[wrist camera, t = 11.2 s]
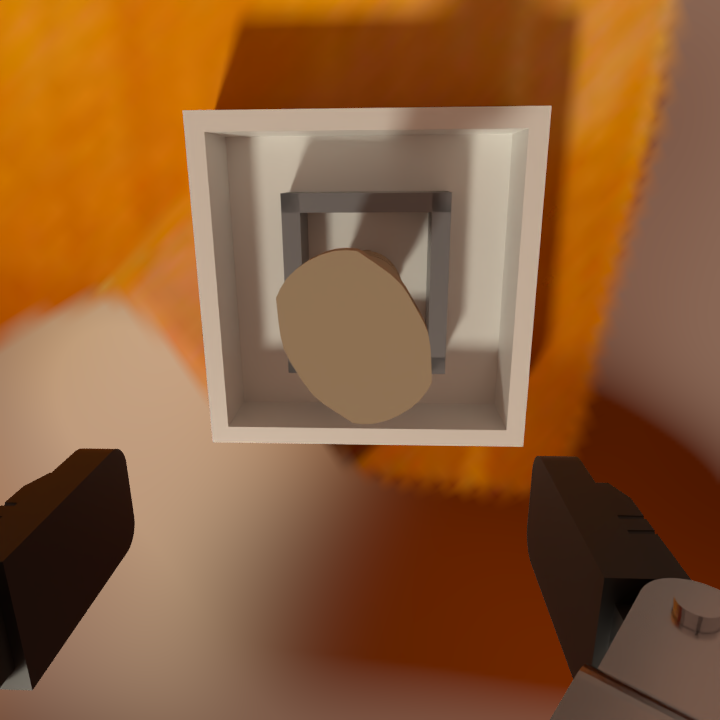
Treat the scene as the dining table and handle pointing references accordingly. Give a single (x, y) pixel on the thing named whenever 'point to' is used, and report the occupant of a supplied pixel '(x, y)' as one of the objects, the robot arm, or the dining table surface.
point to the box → (379, 234)
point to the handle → (355, 335)
